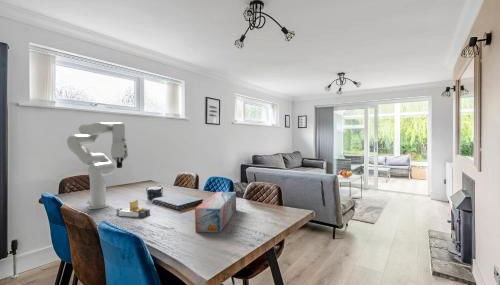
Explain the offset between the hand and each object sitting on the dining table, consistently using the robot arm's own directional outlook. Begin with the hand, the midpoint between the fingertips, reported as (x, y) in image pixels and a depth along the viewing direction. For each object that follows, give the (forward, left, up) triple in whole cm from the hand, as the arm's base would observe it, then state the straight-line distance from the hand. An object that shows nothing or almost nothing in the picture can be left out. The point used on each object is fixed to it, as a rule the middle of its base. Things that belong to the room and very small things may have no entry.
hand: (119, 167), depth 167 cm
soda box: (+73, -6, -30) cm, 79 cm away
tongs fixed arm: (+17, -6, -29) cm, 34 cm away
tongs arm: (+15, -9, -29) cm, 34 cm away
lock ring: (+20, -8, -26) cm, 33 cm away
